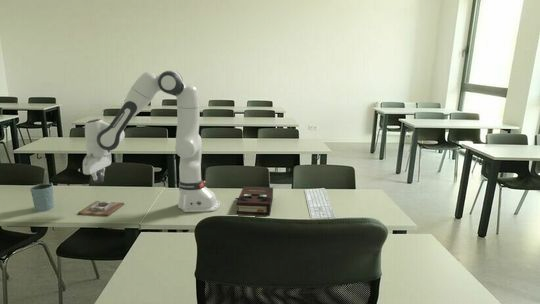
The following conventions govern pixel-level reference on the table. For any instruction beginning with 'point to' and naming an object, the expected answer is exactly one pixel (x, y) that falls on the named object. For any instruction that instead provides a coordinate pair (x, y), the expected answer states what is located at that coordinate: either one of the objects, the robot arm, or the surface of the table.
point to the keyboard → (319, 204)
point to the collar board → (101, 208)
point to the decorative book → (255, 201)
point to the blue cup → (42, 197)
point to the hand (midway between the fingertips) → (98, 178)
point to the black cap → (99, 177)
